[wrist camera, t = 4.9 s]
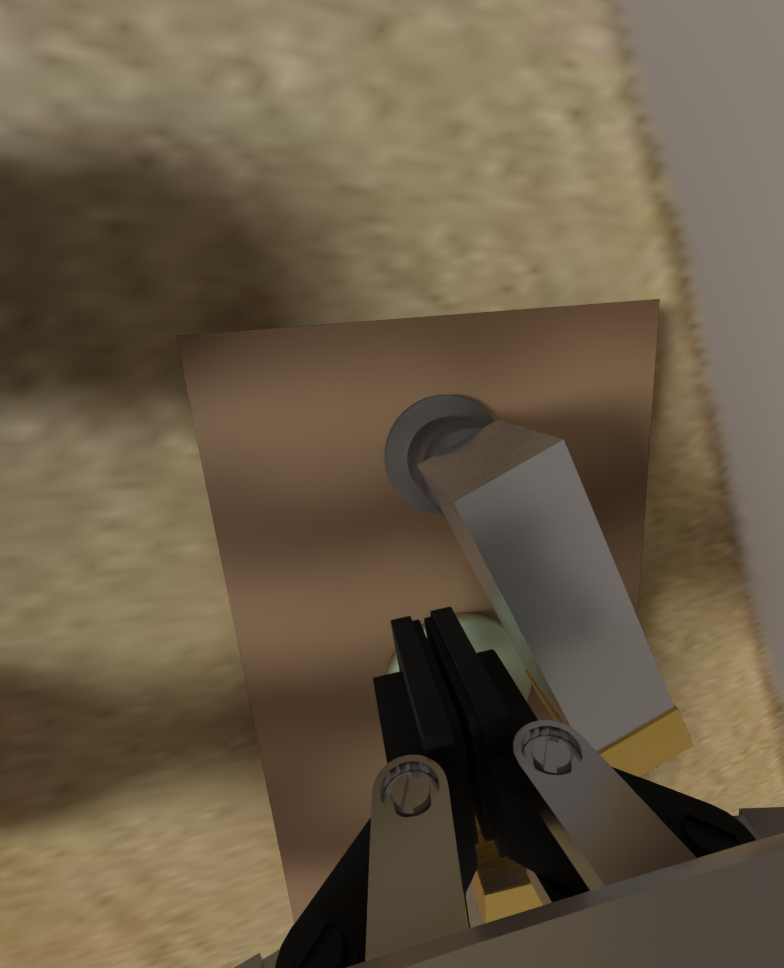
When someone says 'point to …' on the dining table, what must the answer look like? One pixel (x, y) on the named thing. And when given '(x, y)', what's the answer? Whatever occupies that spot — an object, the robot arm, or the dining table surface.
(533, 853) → the robot arm
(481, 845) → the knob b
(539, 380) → the level plate
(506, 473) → the gold-tipped grey bar
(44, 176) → the dining table surface
